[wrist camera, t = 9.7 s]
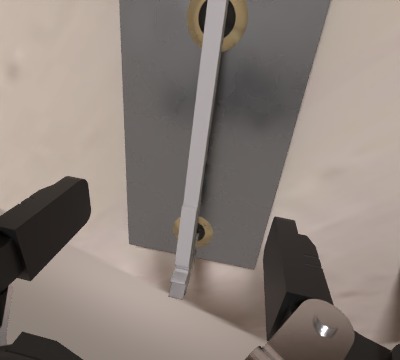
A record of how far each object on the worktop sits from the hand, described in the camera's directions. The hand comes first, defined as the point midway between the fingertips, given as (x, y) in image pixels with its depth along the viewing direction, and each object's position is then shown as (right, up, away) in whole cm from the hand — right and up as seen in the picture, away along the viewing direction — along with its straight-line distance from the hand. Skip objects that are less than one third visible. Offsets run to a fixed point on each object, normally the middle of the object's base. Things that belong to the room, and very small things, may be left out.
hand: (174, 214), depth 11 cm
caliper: (+1, +4, +8) cm, 9 cm away
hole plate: (+1, +4, +9) cm, 10 cm away
